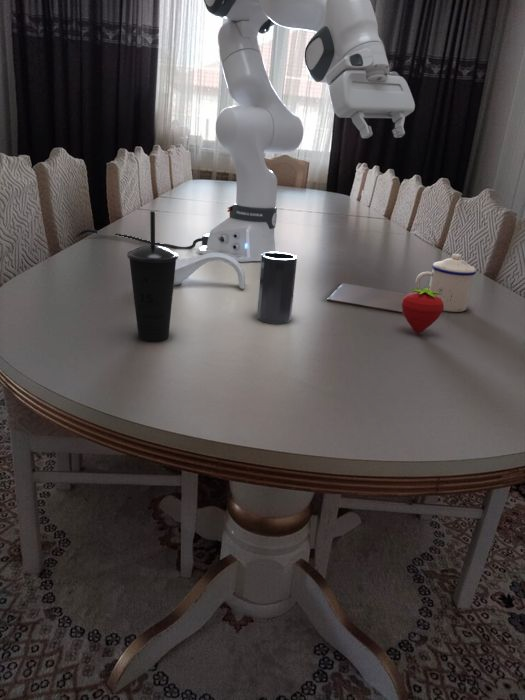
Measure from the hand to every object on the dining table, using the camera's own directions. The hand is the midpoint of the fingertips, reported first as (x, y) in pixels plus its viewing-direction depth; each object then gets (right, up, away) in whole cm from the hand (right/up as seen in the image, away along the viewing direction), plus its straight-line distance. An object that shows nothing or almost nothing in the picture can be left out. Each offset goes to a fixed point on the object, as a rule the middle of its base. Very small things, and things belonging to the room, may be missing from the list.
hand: (384, 136), depth 104 cm
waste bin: (-22, -37, -5) cm, 43 cm away
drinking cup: (-42, -41, -19) cm, 62 cm away
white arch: (-40, -28, +13) cm, 51 cm away
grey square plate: (0, -31, +13) cm, 34 cm away
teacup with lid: (+15, -33, +12) cm, 38 cm away
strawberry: (+4, -40, -7) cm, 41 cm away
